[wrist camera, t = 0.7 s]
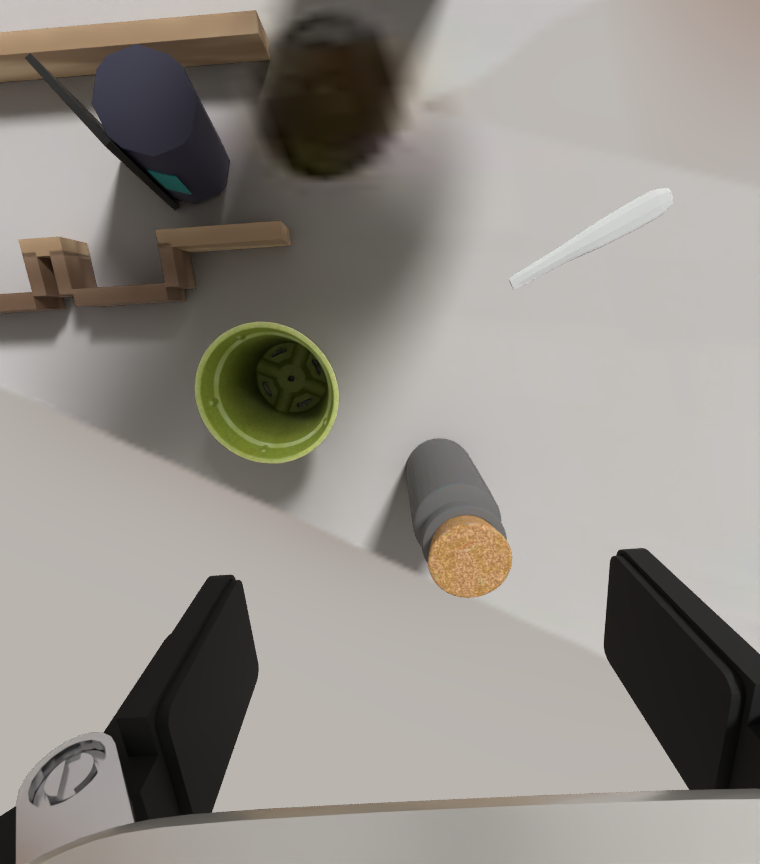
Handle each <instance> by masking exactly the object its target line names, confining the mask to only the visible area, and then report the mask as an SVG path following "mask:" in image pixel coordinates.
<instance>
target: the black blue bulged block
mask: <svg viewBox="0 0 760 864" xmlns="http://www.w3.org/2000/svg"><path fill="white" fill-rule="evenodd" d="M25 59H26V60H27V61H28V62H29V63H30V65H31V66H32V67H33V68H34V69H35V70H36V71H37V72H38V73H39V74H40V75H41V77H42V78H43V79H44V80H45V81H46V82H47V83H48V84H49V85H50V86H51V88H52V89H53V90H54V91H55V92H56V93H57V94H58V95H59V96H60V97H61V98H62V100H63V101H64V102H65V103H66V104H67V105H68V106H69V107H70V108H71V109H72V111H73V112H74V113H75V114H76V115H77V116H78V117H79V118H80V119H81V120H82V121H83V123H84V124H85V125H86V126H87V127H88V128H89V129H90V130H91V131H92V132H93V133H94V135H95V136H96V137H97V138H98V139H99V140H100V141H101V142H102V143H103V144H104V146H105V147H107V148H108V149H109V150H110V151H111V152H112V153H113V154H114V155H115V156H116V157H117V158H118V159H120V160H121V161H122V162H123V163H124V164H125V165H126V166H127V167H128V168H129V169H130V170H131V171H133V172H134V173H135V174H136V175H137V176H138V177H139V178H140V179H141V180H142V181H143V182H145V183H146V184H147V185H148V186H149V187H150V188H151V189H152V190H153V191H154V192H155V193H156V194H158V195H159V196H160V197H161V198H162V199H163V200H164V201H165V202H166V203H167V204H168V205H169V206H171V207H172V208H173V209H174V210H175V211H176V210H177V209H178V208H179V207H178V206H177V204H176V203H175V202H174V201H173V200H172V199H171V198H170V197H169V196H168V194H169V195H170V196H171V197H172V198H175V199H179V200H183V201H186V202H190V203H194V204H199V203H201V202H203V201H206V200H208V199H211V198H213V197H215V196H218V195H219V194H220V193H221V191H222V190H223V189H224V187H225V186H226V181H227V175H228V169H229V163H230V160H229V158H228V156H227V153H226V151H225V149H224V147H223V144H222V142H221V140H220V138H219V136H218V134H217V132H216V130H215V128H214V126H213V124H212V122H211V120H210V118H209V116H208V115H207V113H206V111H205V109H204V107H203V105H202V103H201V101H200V99H199V97H198V95H197V93H196V91H195V90H194V88H193V86H192V84H191V82H190V80H189V78H188V76H187V74H186V72H185V70H184V68H183V66H181V65H180V64H179V63H178V62H177V61H176V60H175V59H174V58H173V57H172V56H171V55H169V54H167V53H164V52H161V51H157V50H154V49H151V48H148V47H145V46H141V45H138V44H134V45H132V46H129V47H127V48H124V49H122V50H119V51H117V52H115V53H112V54H110V55H107V56H106V57H105V58H104V59H103V61H102V62H101V64H100V65H99V66H98V68H97V69H96V76H95V84H94V92H93V100H92V104H93V106H94V109H95V111H96V113H97V115H98V117H99V119H100V121H101V123H102V124H101V123H100V122H99V121H98V120H97V119H96V118H95V117H94V116H93V115H92V114H91V113H90V112H89V111H88V110H87V109H86V108H85V107H84V106H83V105H82V104H81V103H80V102H79V101H78V100H77V99H76V98H75V97H74V96H73V95H72V94H71V93H70V92H69V91H68V90H67V89H66V88H65V87H64V86H63V85H62V84H61V83H60V82H59V81H58V80H57V79H56V78H55V77H54V76H53V75H52V74H51V73H50V72H49V71H48V70H47V69H46V68H45V67H44V66H43V65H42V64H41V63H40V62H39V61H38V60H37V59H36V58H35V57H34V56H33V55H32V54H31V53H29V54H28V55H27V56H26V57H25Z"/></svg>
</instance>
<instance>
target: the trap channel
mask: <svg viewBox="0 0 760 864" xmlns="http://www.w3.org/2000/svg"><path fill="white" fill-rule="evenodd" d="M134 44H138V45H141V46H145V47H148V48H151V49H154V50H157V51H161V52H164V53H167V54H169V55H171V56H172V57H173V58H174V59H175V60H176V61H177V62H178V63H179V64H180V65H181V66H183V67H190V66H202V65H214V64H227V63H239V62H251V61H263V60H270V51H269V42H268V38H267V35H266V33H265V31H264V28H263V26H262V24H261V21H260V19H259V17H258V14H257V12H256V10H255V11H243V12H231V13H220V14H208V15H197V16H185V17H174V18H162V19H150V20H139V21H127V22H116V23H104V24H93V25H81V26H69V27H58V28H46V29H35V30H23V31H12V32H0V82H10V81H22V80H34V79H43V78H42V77H41V75H40V74H39V73H38V72H37V71H36V70H35V69H34V68H33V67H32V66H31V65H30V63H29V62H28V61H27V60H26V59H25V57H26V56H27V55H28V54H29V53H31V54H32V55H33V56H34V57H35V58H36V59H37V60H38V61H39V62H40V63H41V64H42V65H43V66H44V67H45V68H46V69H47V70H48V71H49V72H50V73H51V74H52V75H53V76H54V77H55V78H58V77H70V76H82V75H94V74H96V69H97V68H98V66H99V65H100V64H101V62H102V61H103V59H104V58H105V57H106V56H107V55H110V54H112V53H115V52H117V51H119V50H122V49H124V48H127V47H129V46H132V45H134ZM155 232H156V238H157V243H158V249H159V254H160V259H161V265H162V270H163V276H164V281H165V283H156V284H141V285H127V286H113V287H98V288H97V285H96V281H95V276H94V272H93V268H92V263H91V259H90V254H89V250H88V245H87V243H84V242H79V241H75V240H71V239H67V238H62V237H49V238H35V239H21V240H19V244H20V247H21V251H22V255H23V259H24V262H25V266H26V270H27V274H28V278H29V281H30V285H31V289H32V292H26V293H12V294H0V314H3V313H17V312H32V311H47V310H61V309H65V306H64V302H63V298H66V297H74V300H75V305H76V306H90V307H105V306H120V305H135V304H150V303H164V302H179V301H186V298H185V293H184V289H196V284H195V278H194V272H193V267H192V261H191V255H190V253H191V252H205V251H219V250H233V249H247V248H261V247H275V246H289V245H291V242H290V233H289V228H288V227H287V226H285V225H284V224H283V223H282V222H281V221H268V222H255V223H241V224H227V225H213V226H200V227H186V228H172V229H158V230H155Z"/></svg>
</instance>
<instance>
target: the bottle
mask: <svg viewBox="0 0 760 864" xmlns="http://www.w3.org/2000/svg"><path fill="white" fill-rule="evenodd" d="M406 475H407V484H408V492H409V499H410V507H411V515H412V522H413V527H414V532H415V536H416V538H417V540H418V542H419V544H420V545H421V547H422V551H423V554H424V557H425V559H426V561H427V563H428V567H429V571H430V574H431V576H432V578H433V580H434V581H435V583H436V584H437V585H438V586H439V587H440V588H441V589H443V590H444V591H446V592H447V593H449V594H452V595H454V596H458V597H466V598H471V597H478V596H482V595H485V594H488V593H489V592H491V591H493V590H495V589H496V588H498V587H499V586H500V585H501V584H502V583H503V582H504V580H505V579H506V577H507V576H508V574H509V572H510V569H511V565H512V553H511V549H510V546H509V544H508V542H507V538H506V533H505V530H504V527H503V525H502V523H501V515H500V511H499V508H498V505H497V503H496V502H495V500H494V498H493V496H492V494H491V492H490V491H489V489H488V487H487V485H486V484H485V482H484V480H483V479H482V477H481V475H480V474H479V472H478V470H477V468H476V467H475V465H474V463H473V462H472V460H471V459H470V457H469V455H468V454H467V452H466V451H465V450H464V449H463V448H462V447H461V446H460V445H459V444H457V443H455V442H453V441H450V440H447V439H432V440H428V441H426V442H424V443H422V444H420V445H419V446H418V447H417V448H416V449H415V450H414V451H413V452H412V453H411V455H410V457H409V459H408V462H407V468H406Z"/></svg>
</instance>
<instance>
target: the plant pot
mask: <svg viewBox="0 0 760 864" xmlns="http://www.w3.org/2000/svg"><path fill="white" fill-rule="evenodd" d="M282 348H284V349H286V350H287V351H286V352H283V353H280V354H278V355H276V356H275V357H272V353H274V352H275V351H278V350H279V349H282ZM313 359H314V360H316V361H317V362H318V365H319V367H320V369H321V374H320V375H318V373H317V370H316V367H315V365H314V364H313V363H312V360H313ZM289 376H293V377H294V381H289V380H288V377H289ZM265 381H266V382H267V385H268V387H269V389H270V391H271V394H272V396H270V395H269V394H268V393H267V392H266V390H265V388H264V386H263V383H264V382H265ZM195 398H196V403H197V407H198V410H199V413H200V416H201V418H202V420H203V422H204V424H205V425H206V427H207V428H208V430H209V431H210V433H211V434H212V435H213V436H214V438H215V439H216V440H217V441H218V442H219V443H221V444H222V445H223V446H224V447H226V448H227V449H228V450H230V451H231V452H233V453H234V454H236V455H238V456H240V457H242V458H245V459H248V460H251V461H254V462H259V463H271V464H276V463H285V462H289V461H293V460H296V459H298V458H301V457H303V456H305V455H307V454H308V453H310V452H311V451H313V450H314V449H315V448H316V447H318V446H319V445H320V444H321V443H322V442H323V441H324V439H325V438H326V437H327V435H328V434H329V432H330V430H331V429H332V427H333V424H334V422H335V419H336V417H337V412H338V406H339V391H338V384H337V380H336V377H335V373H334V371H333V369H332V366H331V364H330V363H329V361H328V359H327V358H326V356H325V355H324V354H323V352H322V351H321V350H320V349H319V348H318V347H317V345H315V344H314V343H313V342H312V341H311V340H310V339H309V338H308V337H306V336H305V335H303V334H302V333H300V332H298V331H297V330H295V329H292V328H290V327H287V326H285V325H281V324H277V323H272V322H251V323H246V324H242V325H239V326H236V327H234V328H231V329H230V330H228V331H226V332H224V333H223V334H221V335H220V336H219V337H218V338H216V339H215V340H214V341H213V342H212V344H211V345H210V346H209V347H208V348H207V350H206V351H205V353H204V355H203V356H202V358H201V360H200V363H199V366H198V369H197V373H196V378H195ZM309 398H311V402H310V403H308V404H306V405H305V406H302V407H298V406H297V403H301V402H304V401H306V400H308V399H309Z"/></svg>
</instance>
